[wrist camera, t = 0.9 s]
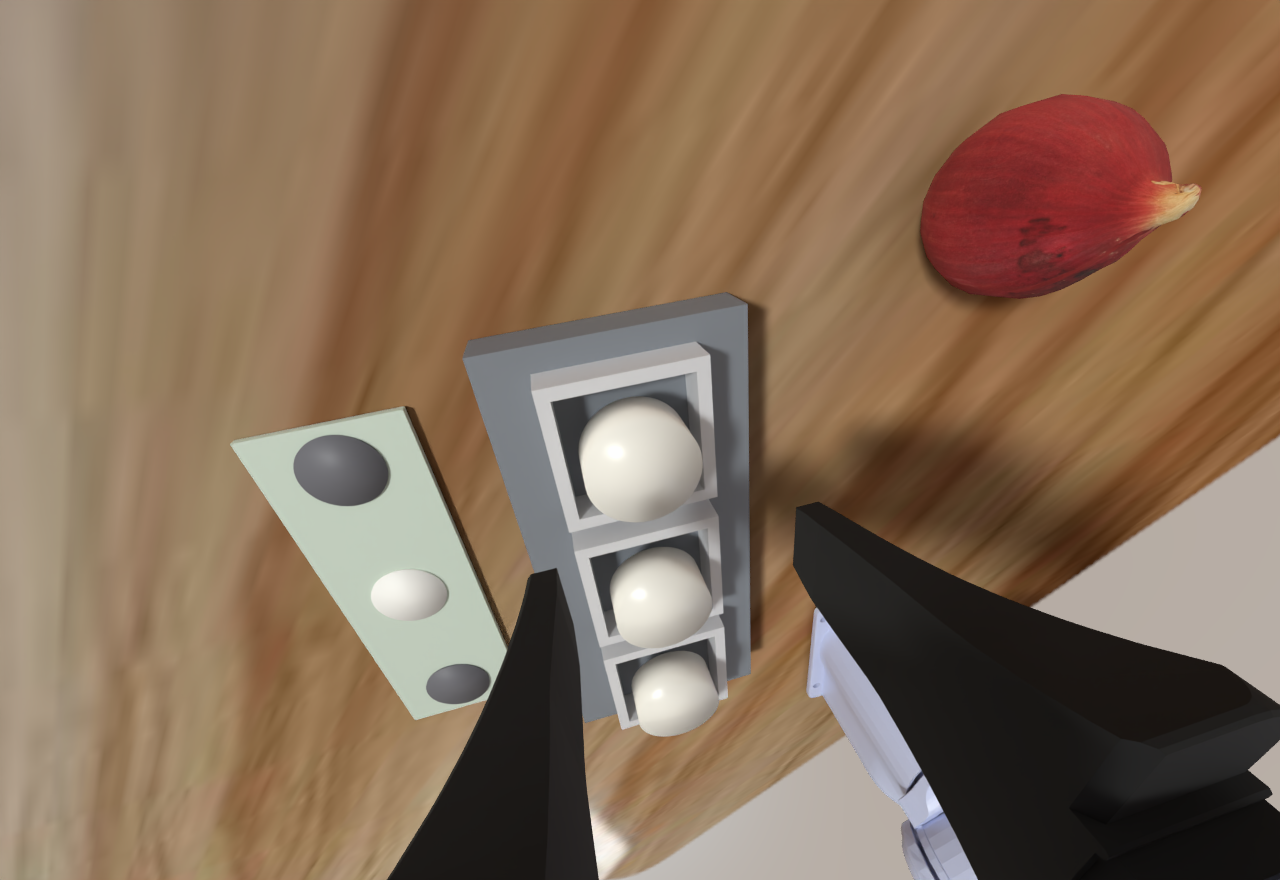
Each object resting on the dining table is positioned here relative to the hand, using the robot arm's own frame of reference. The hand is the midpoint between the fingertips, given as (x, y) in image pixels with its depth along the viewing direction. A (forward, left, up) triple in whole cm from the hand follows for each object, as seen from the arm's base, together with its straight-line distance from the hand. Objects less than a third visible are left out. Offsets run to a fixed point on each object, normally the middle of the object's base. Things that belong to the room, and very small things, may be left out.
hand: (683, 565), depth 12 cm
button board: (-7, 0, -9) cm, 12 cm away
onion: (+6, -14, -10) cm, 18 cm away
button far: (-14, 0, -6) cm, 15 cm away
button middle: (-7, 0, -6) cm, 9 cm away
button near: (0, 0, -6) cm, 6 cm away
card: (-7, +11, -9) cm, 16 cm away
